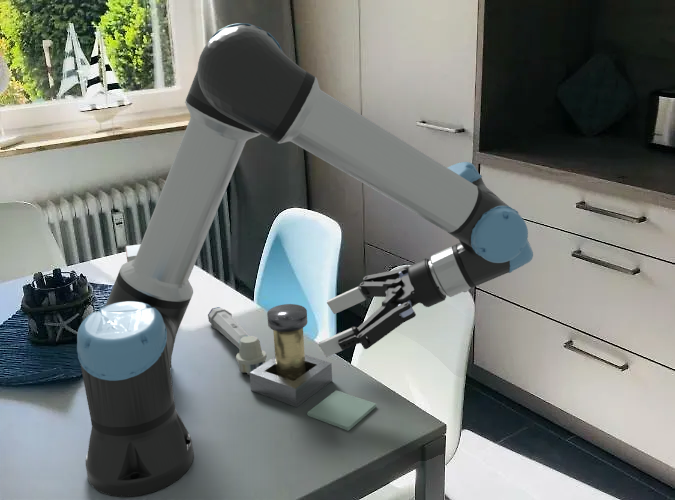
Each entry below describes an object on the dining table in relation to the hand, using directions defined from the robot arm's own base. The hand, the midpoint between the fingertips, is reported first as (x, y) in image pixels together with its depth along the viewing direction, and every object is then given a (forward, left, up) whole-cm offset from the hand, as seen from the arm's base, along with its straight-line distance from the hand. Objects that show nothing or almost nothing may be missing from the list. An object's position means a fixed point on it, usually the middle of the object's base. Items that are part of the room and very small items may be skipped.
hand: (326, 327), depth 124 cm
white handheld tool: (0, +22, -10) cm, 24 cm away
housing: (-6, +4, -10) cm, 12 cm away
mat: (-8, -8, -10) cm, 15 cm away
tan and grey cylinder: (-6, +4, -10) cm, 12 cm away
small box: (+9, +60, -10) cm, 61 cm away
